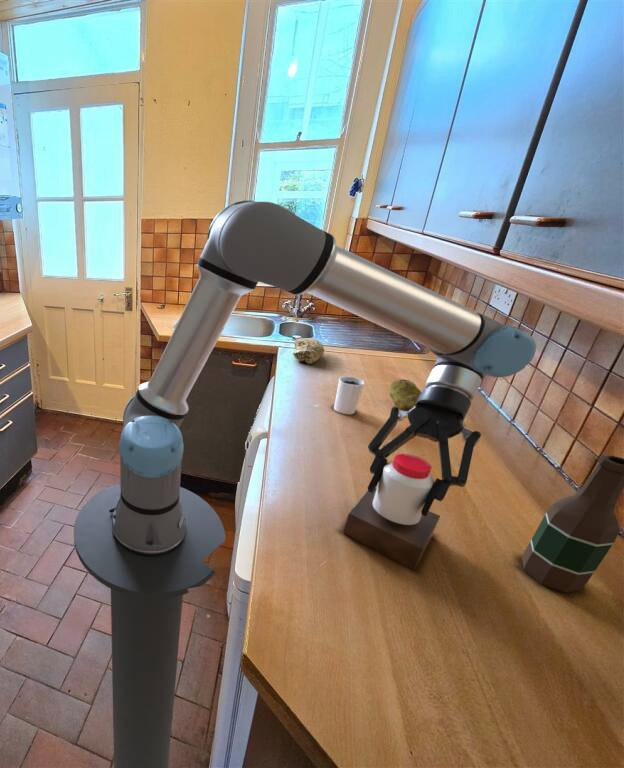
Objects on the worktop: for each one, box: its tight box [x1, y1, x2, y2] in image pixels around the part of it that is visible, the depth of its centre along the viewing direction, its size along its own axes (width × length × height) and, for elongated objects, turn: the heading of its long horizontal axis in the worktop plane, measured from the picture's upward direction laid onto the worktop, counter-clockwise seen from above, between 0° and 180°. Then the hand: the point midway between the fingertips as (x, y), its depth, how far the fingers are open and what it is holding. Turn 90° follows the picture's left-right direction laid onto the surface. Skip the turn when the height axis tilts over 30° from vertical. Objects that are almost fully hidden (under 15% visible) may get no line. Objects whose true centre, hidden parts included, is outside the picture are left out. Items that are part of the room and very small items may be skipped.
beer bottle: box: [521, 454, 624, 593], centre depth 65 cm, size 8×8×24 cm
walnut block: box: [342, 487, 441, 571], centre depth 78 cm, size 12×12×5 cm
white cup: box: [333, 375, 365, 415], centre depth 124 cm, size 7×7×10 cm
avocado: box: [389, 379, 422, 411], centre depth 125 cm, size 8×13×8 cm, turn 159°
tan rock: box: [292, 337, 325, 365], centre depth 168 cm, size 13×8×20 cm
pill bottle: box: [372, 453, 436, 525], centre depth 75 cm, size 8×8×11 cm
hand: (396, 501), depth 73 cm, fingers closed on pill bottle, 8 cm apart
